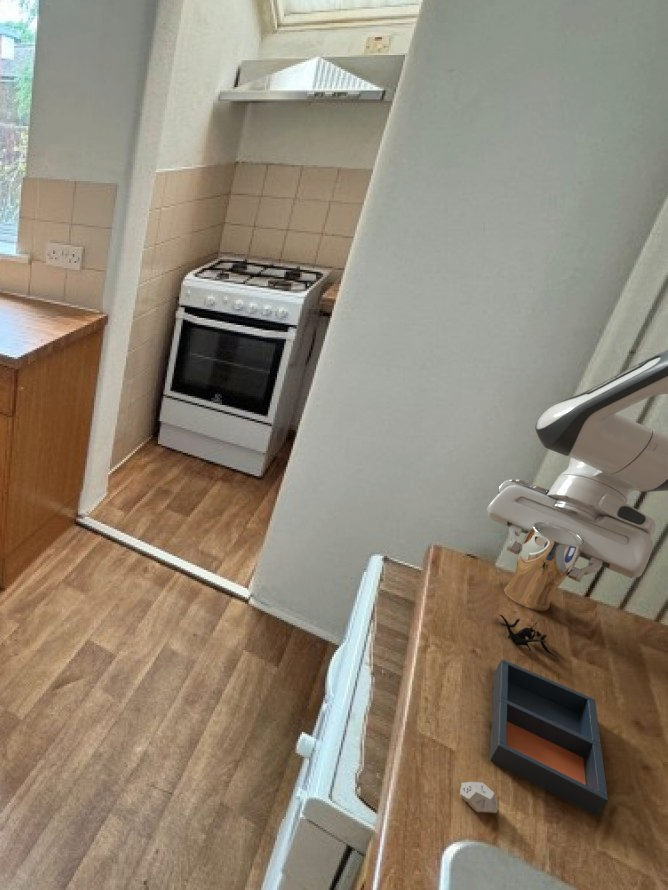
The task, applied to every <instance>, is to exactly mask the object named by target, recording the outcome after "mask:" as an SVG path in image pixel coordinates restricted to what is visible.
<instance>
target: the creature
mask: <svg viewBox="0 0 668 890" xmlns="http://www.w3.org/2000/svg"><path fill="white" fill-rule="evenodd" d="M499 616H500V617H501V618H502V620H503V622H499V624H501V625H502V626H504V627H506V629H507V633H508V636H507V638H508V639H510V640H511V641H512V643H513V644H514V645H515V646H525V647H527V648H528V652H531V651H532V649H531V647H530V646H529V643H536V642H540V645H541V647H542V649H544V651H545V652H546V653H548V654H549V655H551V656H553V657H554V658H557V659H558V656H556V654H554V653H553V652H551V651H550V650H549V648H548V647H547V645H546V641H545V639H546V638H547V637H548V635H547V634H543V635H542V633H541V632H540V631H538V630H537V631H536V630H535V629H534V628H535V626H536V625H537V624H538V622H539V621H540V619H538V621H536V622H535V623H534V624H533V625H532V626H530V627H523V628H522V629H520V630H519V631H518V632H516V633H514V632H513V630H512V629H513V628H515V627H516V626H517V625H518V623H519V622H520V620H521V619H520V618H517V619H516V620H515V621H514V622H513V623H511V624H510V623H509V621H508V620H507V618H506V617H505V616H503V614H499ZM511 628H512V629H511ZM535 637H538V638H539V639H538V638H535Z"/></svg>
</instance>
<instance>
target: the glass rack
mask: <svg viewBox="0 0 668 890" xmlns="http://www.w3.org/2000/svg"><path fill="white" fill-rule="evenodd" d="M493 676H494V677H493V694H492V712H491V713H492V714H491V731H490V733H491V735H490V754H489V755H490V756H489V761H490V762H492V763H493V764H495V765H498V766H499V767H501V768H503V769H505V770H506V771H509V772H510V773H512V774H514V775H517V776H519V777H520V778H523V779H524V780H526V781H528V782H530V783H532V784H534V785H535V786H538V787H540V788H542V789H544V790H545V791H547V792H549V793H551V794H553V795H555V796H556V797H559V798H561V799H563V800H565V801H567V802H569V803H571V804H573V806H576V807H578V808H580V809H581V810H583V811H586V812H587V813H590V814H592V815H593V816H596V817H598V816H599V815H600V814H601V812H602V810H603V809H604V807H605V806H606V805H607V803H608V802H609V799H608V798H609V797H608V789H607V782H606V774H605V767H604V760H603V759H604V758H603V751H602V744H601V736H600V728H599V719H598V711H597V706H596V699H595V698H593V697H591V696H589V695H586V694H584V693H582V692H579V691H577V690H575V689H572V688H570V687H568V686H565V685H564V684H561V683H559V682H557V681H554V680H551V679H549V678H546V677H545V676H542V675H540V674H538V673H535V672H533V671H530V669H529V670H528V669H527V668H524V667H522V666H519V665H517V664H515V663H512V662H510V661H507V660H505V659H504V658H501V659H500V661H499V663H498V665H497V667H496V669H495V671H494V674H493Z"/></svg>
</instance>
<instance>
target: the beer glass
mask: <svg viewBox="0 0 668 890" xmlns="http://www.w3.org/2000/svg"><path fill="white" fill-rule="evenodd" d="M546 527H554V528H559V529H562V530H565V531H567V532H568V533H570V534H571V535H572V536H573V537H574V538H575V539H576V541H577V543H578V545H572V544H566V543H562V542H559V541H556V540H553V539H551V538H549V537H547V536H545V535H543V534H541V533H540V532H539V531H538V530H539V529H542V528H546ZM520 544H521V546H520V549H519V552H518V554H517V557H516V563H515V568H514V569H515V570H514V573H513V576H512V578H511V580H510V581H509V583H507V585H506V586H505V587H504V588H503V592H504V593H505V595H506V596H507V597H508V598H509V599H511V600H512V601H514V602H515V603H517V604H519V605H520V606H523V607H524V608H525V607H526V608H528V609H531V610H535V611H542V612H543V611H547V610H549V609H550V605H551V600H552V596H553V594H554V592H555V591H556V589H558V587H560V585H562V583H563V582H565V580H566V579H567V578H568V575H569V573H570V572H571V571H572V569H573V568H574V567H576V565H577V563H578V561H579V559H580V558H581V557H580V554H581V551H582V548H583V546H584V544H585V541H584V540H583V538H582V537H580V536H579V535H578V534H576V533H574V532H573V531H571V530H568V529H566V528H564V527H561V526H558V525H555V524H551V523H546V522H535V523H533V524H532V527H531V528H530V530H529V531H528V533H527V534H525V536H524V537H523V539H522V541H521V543H520Z"/></svg>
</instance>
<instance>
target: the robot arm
mask: <svg viewBox="0 0 668 890" xmlns="http://www.w3.org/2000/svg"><path fill="white" fill-rule="evenodd" d="M660 395H668V349H666V350H664V351H662V352H660V353H657V354H655V355H653V356H650V357H649V358H647V359H645V360H643V361H641V362H638V363H637V364H635V365H633V366H631V367H629V368H627V369H626V370H624V371H622V372H620V373H618V374H615V375H614V376H612V377H610V378H609V379H607V380H605V381H603V382H601V383H599V384H597V385H596V386H593V387H592V388H589V389H588V390H586V391H583V392H581V393H579V394H576V395H574V396H572V397H569V398H568V397H567V398H565V399H563V400H560V401H559V402H557V403H556V404H554V405H552V406H550V407H549V408H548V409H546V410H545V411H544V412H543V413H542V415H540V417H539V419H538V420H537V421H536V423H535V426H534V428H535V432H536V433H535V434H536V435H537V438H538V439H539V441H540V442H541V444H542V446H543V447H544V448H545V449H547V450H550V451H553V452H555V453H557V454H560V455H562V456H566V457H570V459H569V464H568V467H567V468H566V469H565V470H564V471H563V472H561V473H560V474H559V475H558V476H557V478H556V480H555V481H554V483H553V485H551V487H550V489H547V488H545V487H541V486H539V485H536V484H533V483H529V482H527V481H525V480H523V479H506V480H505V481H503V482H502V483H501V485H500V486H499V488H497V489H498V490H497V492H498V494H497V495H496V496H495V497H494V498H493V499H492V501H491V502H490V503H489V504H488V506H487V507H486V513H487V516H488V518H489V519H490V520H491V521H494V522H496V523H498V524H500V525H503V526H506V527H508V528H509V529H508V535H509V540H510V541H509V543H508V545H507V546H506V551H507V552H510V553H512V554H514V555H518V552H519V549H520V546H521V544H522V543H520V542H518V541H517V538H516V537H520V536H521V535H522V533H523V534H525V535H526V534H527V533H528V531H529V530H530V528H531V527H532V524H533V523H535V522H546V523H551V524H555V525H558V526H561V527H564V528H566V529H568V530H571V531H573V532H574V533H576V534H578V535H579V536H580V537H582V538H583V540H584V541H585V544H584V546H583V548H582V551H581V554H580V557H579V558H581V559H583V560H587V561H588V563H587V566H585V567H582V568H578V567H576V566H575V567H574V568H573V569H572V571H571V572H570V573H569V575H568V576H567V578H568V579H570V580H573V581H575V582H578V583H581V581H582V580H583V578H584V576H587V575H591V574H593V573H596V572H597V573H598V572H599V571H600V570H601V568H602V567H603V568H606V569H608V570H610V571H613V572H614V573H617V574H620V575H622V576H624V577H627V578H630V579H634V578H639V577H641V576H642V574H643V573H644V571H645V569H646V567H647V565H648V562H649V559H650V557H651V554H652V551H653V545H654V542H653V538H652V537H653V535H654V534H655V532H656V526H657V525H656V520H654V519H653V518H652V517H650V516H648V515H647V514H646V513H644V512H641V511H640V510H639V509H636V508H635V507H633V506H632V505H630V504H629V503H627V502H628V499H629V495H630V494H631V492H634V491H638V492H639V493H652V492H666V491H667V492H668V434H666V433H663V432H661V431H660V430H656V429H654V428H652V427H648V426H646V425H643V424H642V423H638V422H637V421H634V420H632V419H630V418H627V417H625V416H622V415H620V414H618V413H620V412H621V411H624V410H626V409H628V408H630V407H631V406H634V405H636V404H638V403H640V402H642V401H644V400H646V399H648V398H651V397H654V396H660ZM538 531H539V532H540V533H541V534H543V535H545V536H547V537H549V538H551V539H553V540H556V541H559V542H562V543H566V544H572V545H578V543H577V541H576V539H575V538H574V537H573V536H572V535H571V534H570V533H568V532H567V531H565V530H562V529H559V528H554V527H546V528H542V529H539V530H538Z"/></svg>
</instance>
